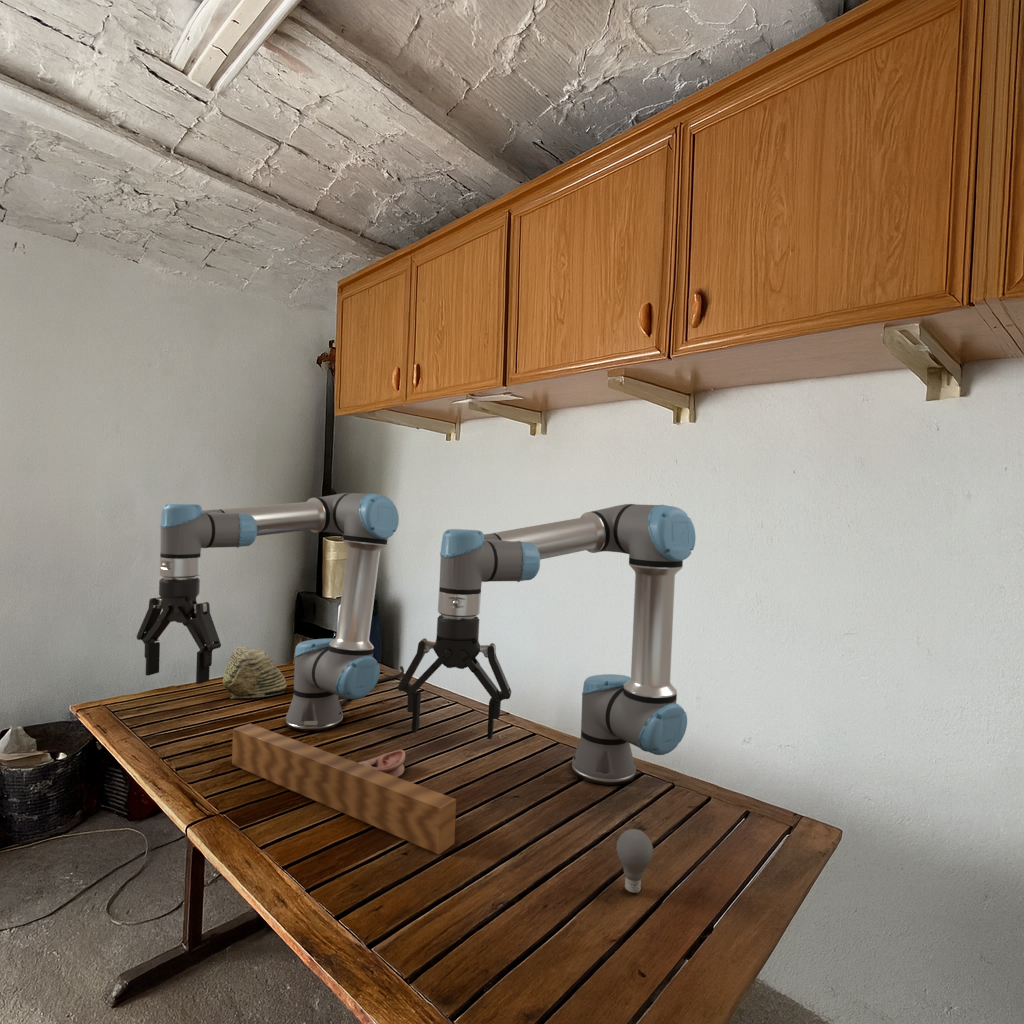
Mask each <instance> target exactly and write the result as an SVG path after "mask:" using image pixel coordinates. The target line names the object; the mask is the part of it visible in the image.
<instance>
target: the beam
mask: <svg viewBox="0 0 1024 1024" xmlns="http://www.w3.org/2000/svg"><path fill="white" fill-rule="evenodd" d="M231 765H233V766H234V767H237V768H239V769H241V770H244V771H246V772H248V773H250V774H253V775H254V776H257V777H260V778H262V779H265V780H266V781H269V782H271V783H274V784H275V785H278V786H280V787H283V788H285V789H287V790H289V791H292V792H294V793H297V794H299V795H301V796H303V797H305V798H308V799H311V800H313V801H314V802H317V803H319V804H322V805H324V806H327V807H329V808H331V809H333V810H335V811H338V812H340V813H342V814H344V815H347V816H349V817H352V818H354V819H356V820H359V821H361V822H363V823H366V824H368V825H369V826H372V827H375V828H376V829H379V830H382V831H384V832H386V833H389V834H391V835H393V836H396V837H397V838H400V839H402V840H404V841H407V842H409V843H410V844H411V843H412V844H414V845H415V846H418V847H420V848H423V849H425V850H428V851H430V852H432V853H434V854H437V855H441V854H442V853H443V852H445V851H446V850H448V849H449V848H450V847H452V846H453V845H455V842H456V841H455V839H456V817H457V816H456V815H457V798H454V797H451V796H449V795H447V794H444V793H440V792H438V791H435V790H432V789H430V788H428V787H425V786H422V785H419V784H416V783H413V782H412V781H409V780H406V779H403V778H401V777H395V776H392V775H389V774H386V773H384V772H381V771H378V770H376V769H373V768H370V767H367V766H365V765H362V764H359V762H356V761H354V760H351V759H348V758H345V757H343V756H340V755H337V754H334V753H332V752H329V751H326V750H323V749H321V748H319V747H316V746H313V745H310V744H308V743H305V742H302V741H300V740H297V739H294V738H292V737H288V736H286V735H283V734H280V733H279V732H278V733H277V732H276V731H272V730H270V729H266V728H264V727H261V726H259V725H256V724H254V723H247V724H244V725H240V726H237V727H234V728H233V729H232V748H231Z"/></svg>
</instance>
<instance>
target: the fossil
mask: <svg viewBox="0 0 1024 1024" xmlns="http://www.w3.org/2000/svg"><path fill="white" fill-rule="evenodd" d="M222 676H223V677H222V685H223V687H224V688H225V690H226V691H228V693H229V698H230V699H250V698H264V697H271V696H275V695H281V694H284V693H285V691H286V689H287V687H288V686H287V680H286V678H285V676H284V674H283V673H282V672H281V669H279V668H278V667H277V665H276V663H275V662H274V660H273V659H272V658H271V657H270V656H269V655H268V654H267V653H266V652H265V650H264V649H263V648H260V647H258V648H251V647H247V646H246V647H245V646H238V647H237V648H236V649H235V650H233V651H232V653H231V656H230V657H229V659H228V660H227V663H226V666H225V668H224V671H223V675H222Z"/></svg>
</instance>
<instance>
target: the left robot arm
mask: <svg viewBox="0 0 1024 1024" xmlns="http://www.w3.org/2000/svg"><path fill="white" fill-rule="evenodd" d="M399 521H400V517H399V511H398V508H397V506H396V505H395V503H394V502H393V500H392V499H390V498H389V497H387V496H386V495H383V494H377V493H371V492H369V493H360V492H357V493H356V492H342V493H337V494H330V495H326V496H318V497H317V496H316V497H310V498H309V499H307V501H303V502H301V501H300V502H291V503H290V502H289V503H278V504H264V505H253V506H252V505H251V506H242V507H229V508H228V507H227V508H219V509H206V510H205V509H204V510H203V508H202V505H200V504H195V503H166V504H164V505H163V506H162V509H161V515H160V524H159V528H160V553H159V576H160V577H162V578H160V579H159V582H158V595H159V596H158V597H157V596H156V597H152V598H151V597H150V599H149V601H148V608H147V611H146V613H145V616H144V618H143V620H142V623H141V625H140V627H139V630H138V632H137V634H136V639H137V640H138V641H142V643H143V644H144V659H145V676H148V677H149V676H152V675H156V674H158V673H160V657H161V656H160V654H161V652H160V651H161V642H159V641H160V639H159V638H160V637H161V636H162V634H163V633H164V631H165V630H166V629H167V627H168V626H169V625H170V624H171V623H172V622H173V623H174V622H175V623H177V624H178V623H179V624H182V625H183V626H184V627H185V628H187V630H188V632H189V633H190V635H191V637H192V639H193V640H194V642H195V644H196V646H197V648H198V649H199V650H198V651H197V652H196V668H195V672H196V673H195V684H196V685H201V684H204V683H207V682H209V681H210V670H211V669H210V667H212V665H213V652H214V650H216V649H220V648H221V647H222V643H221V640H220V637H219V635H218V632H217V629H216V626H215V624H214V621H213V617H212V615H211V608H210V606H211V605H210V603H209V601H205V602H200V603H198V601H197V597H198V596H199V594H200V585H201V580H200V578H199V576H200V575H201V556H202V555H201V554H202V553H201V551H202V549H211V548H212V549H213V548H215V549H216V548H237V549H238V548H241V547H249V546H251V545H253V544H254V542H255V541H256V538H257V537H259V536H260V537H261V536H267V535H268V536H269V535H277V534H284V533H285V534H286V533H293V532H304V531H310V532H312V533H314V534H315V533H316V534H318V533H332V534H341V535H343V536H342V542H343V543H344V545H345V546H346V547H347V552H346V558H345V565H344V566H345V567H344V574H343V583H342V590H341V596H340V597H341V599H340V605H339V611H338V620H337V627H336V634H335V638H317V639H308V640H304V641H300V642H299V643H297V645H296V646H295V650H294V655H293V657H294V672H293V673H294V674H293V695H292V696H293V697H292V699H291V702H290V704H289V708H288V711H287V713H286V715H285V726H286V728H287V729H289V730H291V731H294V732H295V731H296V732H301V733H316V732H325V731H329V730H332V729H335V728H337V727H339V726H340V725H342V723H343V722H344V714H343V709H342V706H343V705H344V704H346V703H347V701H348V700H353V701H355V700H356V701H357V700H360V699H363V698H364V697H366V696H368V695H369V694H370V692H371V691H373V690H374V689H375V687H376V686H377V684H378V683H382V682H386V681H390V680H394V679H398V678H400V677H402V676H404V674H405V668H404V666H403V665H400V666H399V671H400V673H397V674H395V675H390V676H387V677H382V678H380V673H381V670H380V669H381V667H380V664H379V662H378V660H376V659H375V658H374V648H375V647H374V645H373V644H372V642H371V641H370V635H371V626H372V620H373V619H372V618H373V611H374V605H375V604H374V603H375V595H376V588H377V581H378V580H377V579H378V571H379V565H380V557H381V551H382V550H384V548H386V547H387V546H388V539H389V538H391V537H392V536H393V535H394V533H395V532H397V530H398V527H399V523H400V522H399ZM339 698H342V700H341V701H340V699H339Z"/></svg>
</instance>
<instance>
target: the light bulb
mask: <svg viewBox="0 0 1024 1024" xmlns="http://www.w3.org/2000/svg"><path fill="white" fill-rule="evenodd" d="M615 849H616V854H617V857H618V859H619V861H620V863H621V865H622V867H623V873H624V874H623V875H624V876H625V878H624V888H625V890H627V891H628V892H630V893H634V894H635V893H639V892H640V891H641V889H642V887H641V886H642V879H643V877H644V875H645V871H646V868H647V867H648V866H649V864H650V863H651V861H652V859H653V855H654V847H653V843H652V841H651V838H649V836H648V835H647V834H646V833H645V832H643V831H642V830H641V829H636V828H629V829H627V830H625V831H623V832H622V833H621V834H620V835H619V837H618V839H617V841H616V847H615Z"/></svg>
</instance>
